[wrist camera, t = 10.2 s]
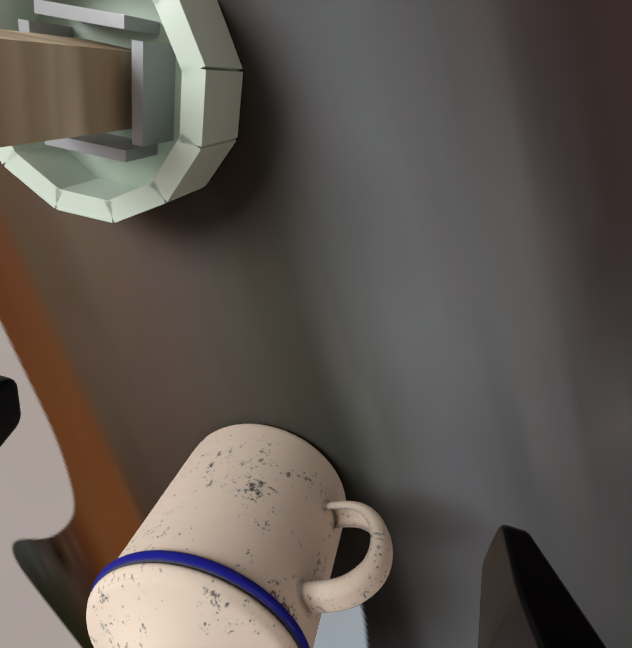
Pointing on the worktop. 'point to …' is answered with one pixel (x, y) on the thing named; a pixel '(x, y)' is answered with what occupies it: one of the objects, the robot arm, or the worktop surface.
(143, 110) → the light green piece
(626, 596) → the worktop surface
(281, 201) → the worktop surface
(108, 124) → the wooden square beam
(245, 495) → the teacup with lid
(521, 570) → the robot arm
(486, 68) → the worktop surface
